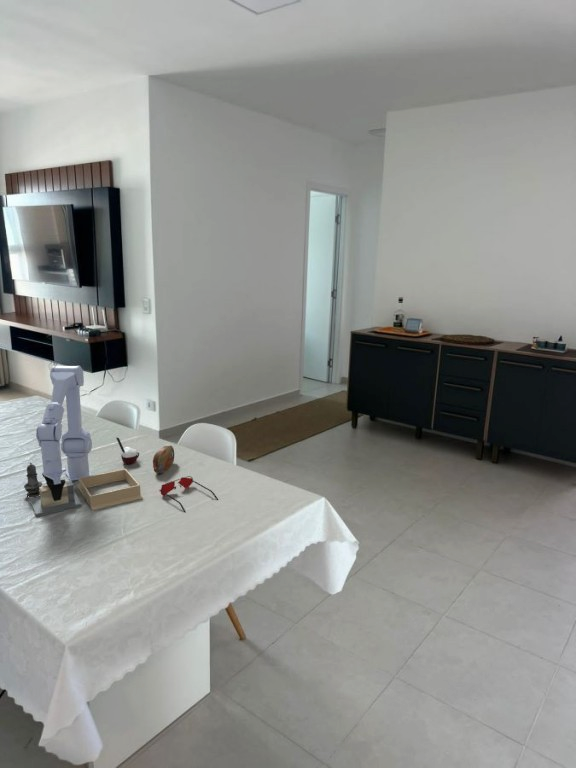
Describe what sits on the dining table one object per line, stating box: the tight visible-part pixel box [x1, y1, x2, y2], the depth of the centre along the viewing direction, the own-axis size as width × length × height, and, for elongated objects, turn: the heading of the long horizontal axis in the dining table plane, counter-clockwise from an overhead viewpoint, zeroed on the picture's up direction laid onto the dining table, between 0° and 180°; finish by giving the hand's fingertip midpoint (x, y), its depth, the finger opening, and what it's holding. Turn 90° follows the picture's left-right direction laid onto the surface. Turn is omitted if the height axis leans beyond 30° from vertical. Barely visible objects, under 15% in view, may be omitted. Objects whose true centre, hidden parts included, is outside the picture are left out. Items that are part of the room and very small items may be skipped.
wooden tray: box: [77, 468, 144, 511], centre depth 189 cm, size 22×17×4 cm
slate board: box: [30, 491, 82, 517], centre depth 179 cm, size 10×14×1 cm
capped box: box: [39, 480, 75, 508], centre depth 178 cm, size 4×10×6 cm, turn 123°
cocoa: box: [116, 437, 140, 466], centre depth 214 cm, size 10×6×12 cm, turn 117°
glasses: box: [158, 475, 219, 513], centre depth 185 cm, size 14×16×5 cm
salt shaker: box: [23, 462, 43, 498], centre depth 185 cm, size 6×6×12 cm
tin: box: [152, 445, 175, 474], centre depth 209 cm, size 15×3×8 cm, turn 168°
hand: (55, 496), depth 178 cm, fingers open, 6 cm apart
